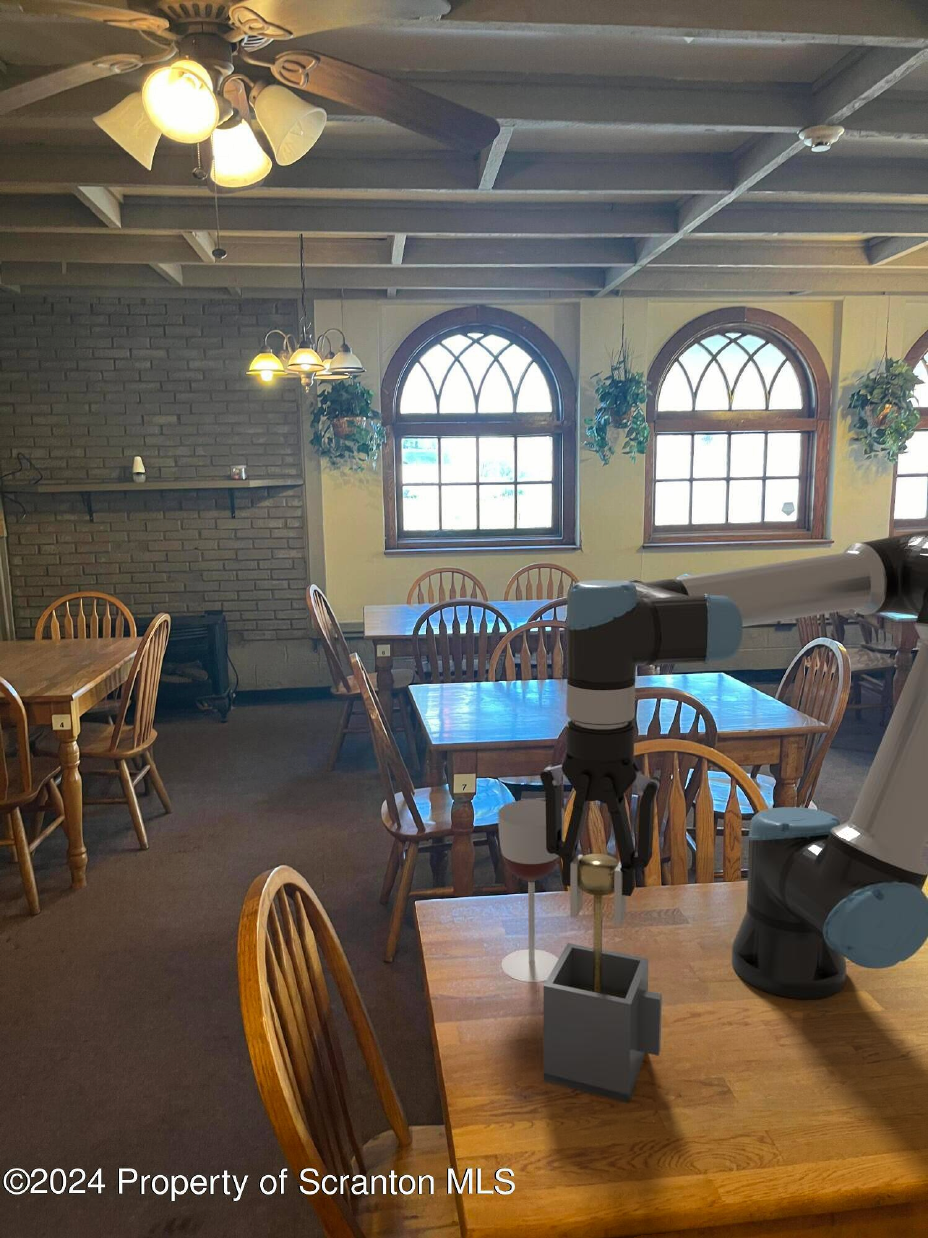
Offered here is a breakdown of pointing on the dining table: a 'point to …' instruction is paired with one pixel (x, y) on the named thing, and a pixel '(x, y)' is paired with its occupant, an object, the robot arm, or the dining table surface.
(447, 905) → the dining table surface
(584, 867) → the plunger
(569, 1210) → the dining table surface
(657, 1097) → the dining table surface
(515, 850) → the wineglass
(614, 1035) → the press pot
